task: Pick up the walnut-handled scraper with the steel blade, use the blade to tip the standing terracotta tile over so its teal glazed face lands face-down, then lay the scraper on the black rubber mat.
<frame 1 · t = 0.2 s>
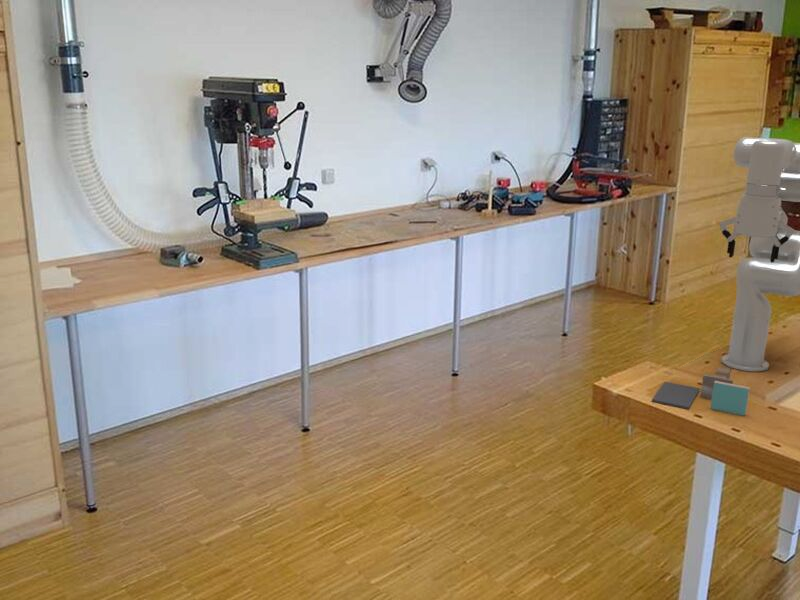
hand: (751, 259, 198), 36 cm above the table, tool pointing down, fingers open, 9 cm apart
mat: (676, 395, 203), on the table
tile: (727, 411, 194), on the table
scraper: (719, 391, 207), on the table
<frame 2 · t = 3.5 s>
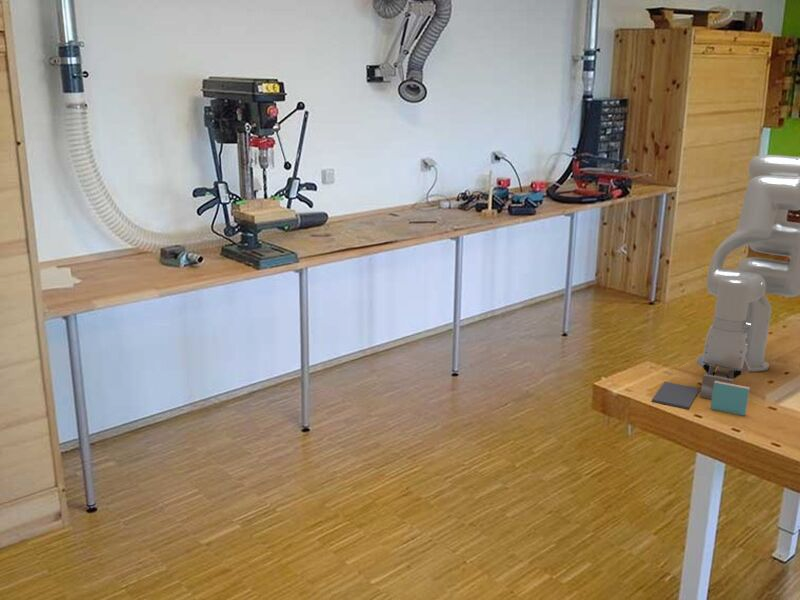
hand: (719, 390, 206), 0 cm above the table, tool pointing down, fingers closed on scraper, 3 cm apart
scraper: (719, 391, 207), on the table, touching gripper
everything else where it was.
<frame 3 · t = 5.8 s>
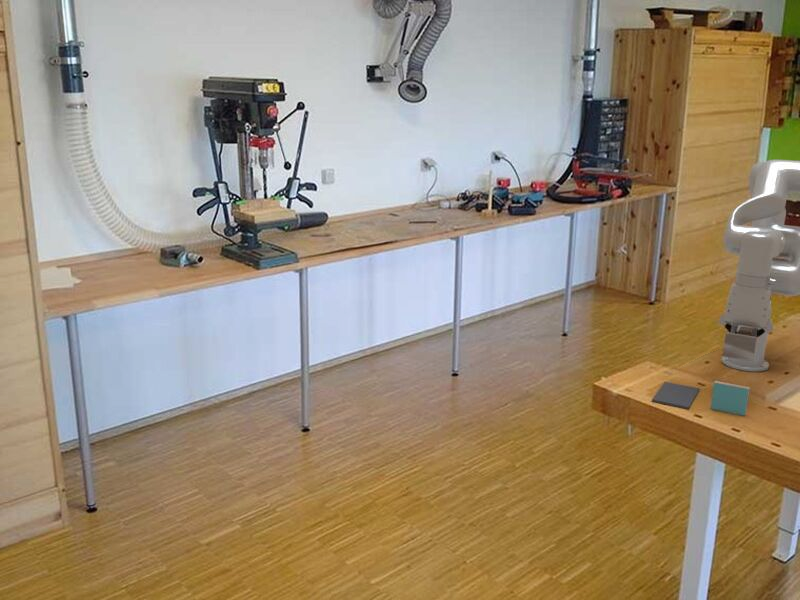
hand: (741, 350, 200), 13 cm above the table, tool pointing down, fingers closed on scraper, 3 cm apart
scraper: (741, 351, 200), point 12 cm above the table, touching gripper
everything else where it was.
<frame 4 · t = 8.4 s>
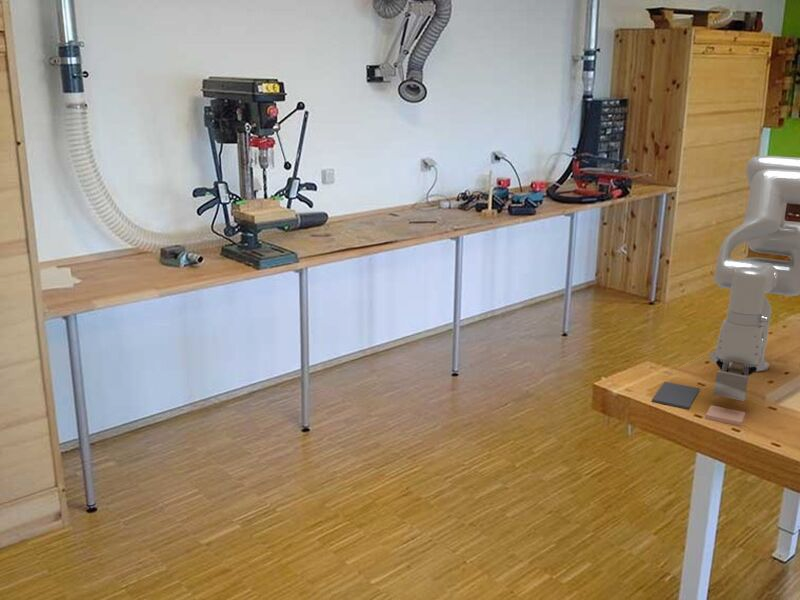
hand: (733, 387, 196), 5 cm above the table, tool pointing down, fingers closed on scraper, 3 cm apart
tile: (727, 411, 193), on the table, tilted 90°
scraper: (733, 388, 196), point 4 cm above the table, touching gripper
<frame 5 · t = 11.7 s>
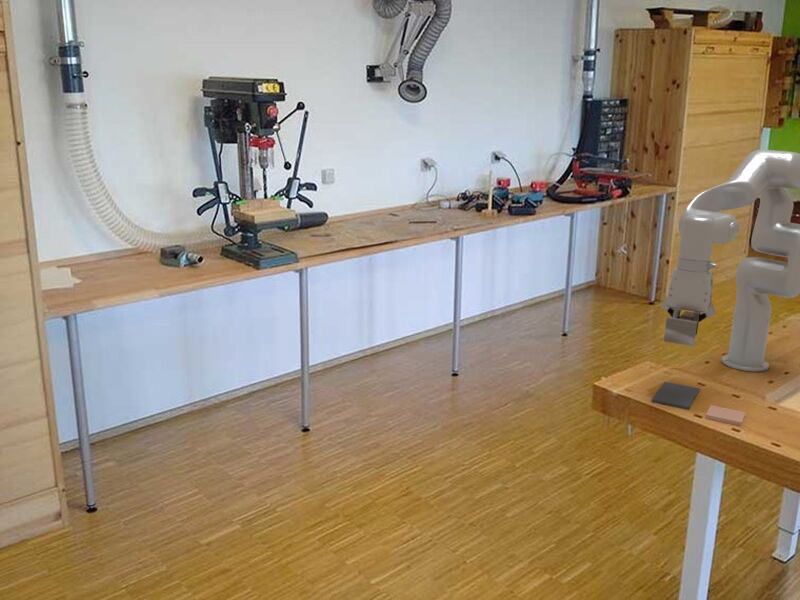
hand: (684, 335, 199), 16 cm above the table, tool pointing down, fingers closed on scraper, 3 cm apart
scraper: (684, 336, 199), point 16 cm above the table, touching gripper
everything else where it was.
when the fingers open (2 cm above the table, at t = 14.9 s): scraper stays where it is, resting on mat.
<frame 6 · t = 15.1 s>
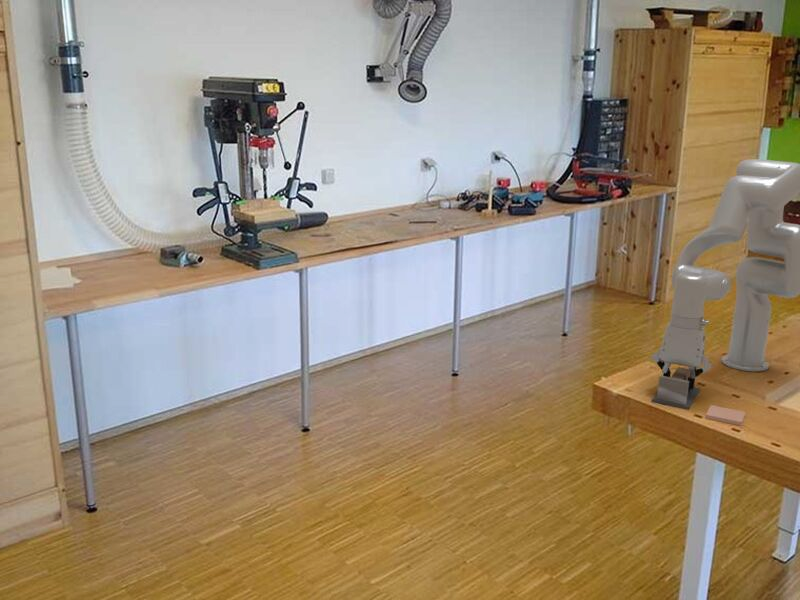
hand: (677, 388, 203), 2 cm above the table, tool pointing down, fingers open, 4 cm apart
scraper: (676, 393, 203), point 1 cm above the table, touching mat
everything else where it was.
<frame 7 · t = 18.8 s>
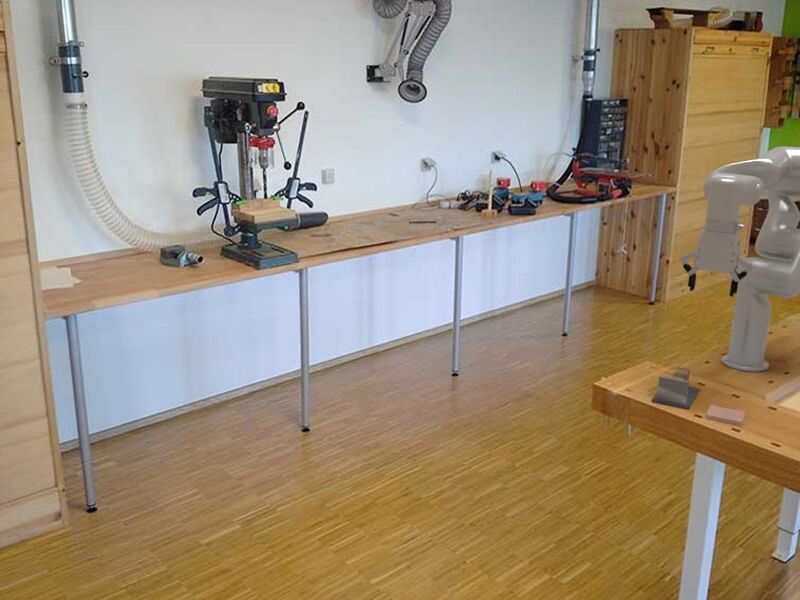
hand: (711, 292, 201), 26 cm above the table, tool pointing down, fingers open, 9 cm apart
nothing on the table moved.
at the end: tile tilted 90°; scraper inside the target area on the mat (0.6 cm from its centre), point 0.6 cm above the mat's base; the gripper is holding nothing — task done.
